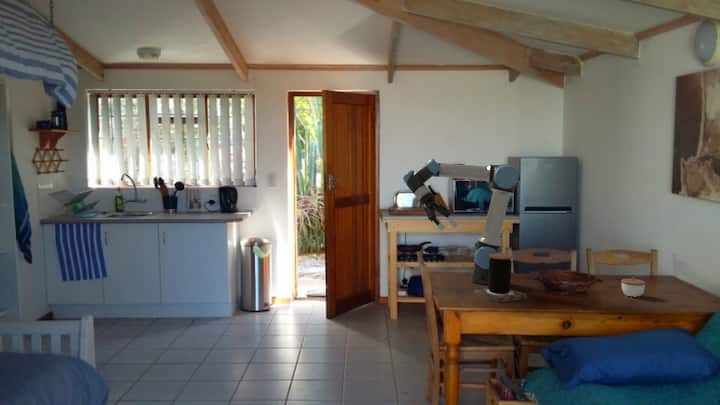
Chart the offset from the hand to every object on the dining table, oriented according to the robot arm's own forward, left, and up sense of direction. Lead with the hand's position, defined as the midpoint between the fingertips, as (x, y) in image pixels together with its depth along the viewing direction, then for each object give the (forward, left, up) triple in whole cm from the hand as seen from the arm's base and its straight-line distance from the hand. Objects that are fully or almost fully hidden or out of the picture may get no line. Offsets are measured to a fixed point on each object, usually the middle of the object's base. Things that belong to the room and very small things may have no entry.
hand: (449, 227), depth 298 cm
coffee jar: (-15, +21, -30) cm, 39 cm away
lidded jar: (-76, +50, -32) cm, 96 cm away
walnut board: (-15, +22, -32) cm, 41 cm away
